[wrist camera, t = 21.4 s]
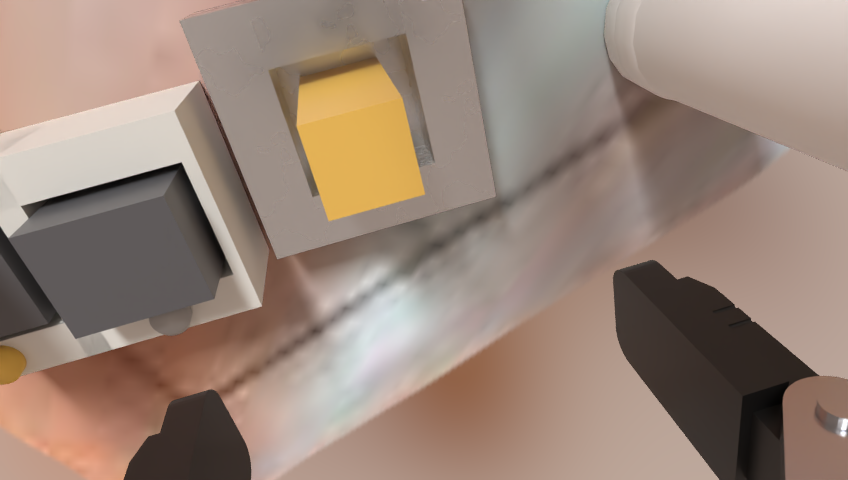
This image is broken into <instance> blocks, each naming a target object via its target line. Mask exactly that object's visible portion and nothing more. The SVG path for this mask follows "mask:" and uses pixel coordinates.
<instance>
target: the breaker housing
mask: <svg viewBox="0 0 848 480" xmlns="http://www.w3.org/2000/svg"><path fill="white" fill-rule="evenodd" d="M181 162H182V164H183V166H184V168H185V170H186V173H187V175H188V177H189V179H190V181H191V183H192V185H193V188H194V190H195V192H196V194H197V196H198V198H199V201H200V203H201V205H202V207H203V209H204V211H205V214H206V216H207V218H208V220H209V222H210V224H211V227H212V229H213V231H214V233H215V235H216V237H217V240H218V242H219V244H220V246H221V248H222V250H223V252H224V255H225V257H226V258H225V261H224V265H223V269H222V273H221V276H220V280H219V284H218V288H217V291H216V295H215V299H213V300H209V301H206V302H202V303H199V304H196V305H192V306H189V307H185V308H182V309H178V310H175V311H171V312H168V313H164V314H161V315H157V316H154V317H150V318H147V319H143V320H140V321H136V322H133V323H129V324H126V325H123V326H119V327H116V328H112V329H109V330H105V331H102V332H98V333H95V334H91V335H88V336H84V337H81V338H77V339H75V338H74V336H73V335H72V333H71V332H70V330H69V329H68V327H67V326H66V324H65V323H64V321H63V320H62V318H61V317H60V315H59V314H58V312H56V313H55V315H54V316H53V318H52V319H51V321H50V322H49V323H48V324H46V325H42V326H39V327H35V328H32V329H28V330H25V331H21V332H18V333H14V334H11V335H7V336H4V337H0V384H1V385H2V384H9V383H12V382H14V381H16V380H17V379H18V378H19V377H20V376H23V375H27V374H30V373H34V372H37V371H41V370H44V369H48V368H51V367H54V366H58V365H61V364H65V363H68V362H72V361H75V360H79V359H82V358H86V357H89V356H92V355H96V354H99V353H103V352H106V351H110V350H113V349H117V348H120V347H124V346H127V345H130V344H134V343H137V342H141V341H144V340H148V339H151V338H155V337H158V336H161V335H169V336H173V335H178V334H181V333H183V332H184V331H186V330H187V328H189V327H193V326H196V325H199V324H203V323H206V322H210V321H213V320H217V319H220V318H224V317H227V316H230V315H234V314H237V313H241V312H244V311H248V310H251V309H255V308H258V307H262V302H263V294H264V287H265V279H266V271H267V263H268V255H269V248H268V245H267V243H266V240H265V238H264V236H263V233H262V231H261V228H260V226H259V224H258V221H257V219H256V216H255V214H254V211H253V209H252V207H251V204H250V202H249V199H248V197H247V195H246V192H245V190H244V187H243V185H242V183H241V180H240V178H239V175H238V173H237V170H236V168H235V166H234V163H233V161H232V158H231V156H230V154H229V151H228V149H227V146H226V144H225V142H224V139H223V137H222V134H221V132H220V129H219V127H218V125H217V122H216V120H215V117H214V115H213V113H212V110H211V108H210V105H209V103H208V101H207V98H206V96H205V93H204V91H203V88H202V86H201V84H200V81H196V82H192V83H188V84H185V85H181V86H177V87H173V88H170V89H166V90H162V91H158V92H154V93H151V94H147V95H143V96H139V97H136V98H132V99H128V100H124V101H121V102H117V103H113V104H109V105H105V106H102V107H98V108H94V109H90V110H87V111H83V112H79V113H75V114H71V115H68V116H64V117H60V118H56V119H53V120H49V121H45V122H41V123H38V124H34V125H30V126H26V127H22V128H19V129H15V130H11V131H7V132H4V133H0V227H1V228H2V230H3V231H4V233H5V234H6V236H7V237H8V238H9V237H10V236H11V235H12V234H13V233H14V232H15V231H16V230H17V229H18V228H19V227H20V226H21V225H23V224H24V223H25V222H26V221H27V220H28V219H29V218H30V217H31V216H32V215H33V214H34V213H35V212H36V211H37V210H38V209H39V208H40V207H41V206H42V205H43V204H44V203H45V202H46V201H47V200H48V199H50V198H52V197H56V196H60V195H63V194H67V193H71V192H74V191H78V190H82V189H85V188H89V187H93V186H96V185H100V184H104V183H107V182H111V181H115V180H118V179H122V178H126V177H129V176H133V175H137V174H140V173H144V172H148V171H151V170H155V169H159V168H162V167H166V166H170V165H173V164H177V163H181Z"/></svg>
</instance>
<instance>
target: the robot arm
mask: <svg viewBox="0 0 848 480" xmlns="http://www.w3.org/2000/svg"><path fill="white" fill-rule="evenodd" d="M613 285H614V300H615V301H614V302H615V318H616V332H617V337H618V341H619V344H620V346H621V349H622V351H623V353H624V355H625V357H626V359H627V360H628V362H629V363H630V364H631V365H632V367H633V368H634V369H635V371H636V372H637V373H638V375H639V376H640V377H641V379H642V380H643V381H644V382H645V384H646V385H647V386H648V388H649V389H650V390H651V391H652V393H653V394H654V395H655V397H656V398H657V399H658V400H659V402H660V403H661V404H662V406H663V407H664V408H665V410H666V411H667V412H668V414H669V415H670V416H671V417H672V418H673V420H674V421H675V423H676V424H677V425H678V426H679V428H680V429H681V430H682V432H683V433H684V434H685V436H686V437H687V438H688V439H689V441H690V442H691V443H692V445H693V446H694V447H695V448H696V450H697V451H698V452H699V454H700V455H701V456H702V458H703V459H704V460H705V461H706V463H707V464H708V465H709V467H710V468H711V469H712V471H713V472H714V473H715V474H716V476H717V477H718V478H719V480H848V379H844V378H839V377H831V376H819V375H818V374H816V373H815V372H814V371H813V370H812V369H810V368H809V367H808V366H807V365H806V364H805V363H803V362H802V361H801V360H800V359H799V358H797V357H796V356H795V355H794V354H792V353H791V352H790V351H789V350H788V349H787V348H786V347H784V346H783V345H782V344H781V343H780V342H778V341H777V340H776V339H775V338H773V337H772V336H771V335H770V334H769V333H768V332H766V331H765V330H764V329H763V328H762V327H761V326H759V325H758V324H757V323H756V322H752V321H751V318H750V317H748V315H746V314H745V313H744V312H743V311H742V310H740V309H739V308H735V306H734V304H733V303H732V302H731V301H730V300H728V299H727V298H726V297H725V296H724V295H723V294H721V293H720V292H719V291H718V290H717V289H715V288H714V287H711V286H709V285H707V284H704V283H702V282H699V281H697V280H695V279H692V278H690V277H685V278H681V279H678V280H677V279H676V278H675V277H674V276H673V275H672V274H670V273H669V272H668V271H667V270H666V269H665V268H664V267H663V266H662V265H660V264H659V263H658V262H657V261H654V260H650V261H647V262H643V263H640V264H637V265H633V266H630V267H626V268H623V269H620V270H617V271H615V273H614V277H613ZM124 480H251V462H250V456H249V452H248V449H247V446H246V443H245V441H244V439H243V438H242V436H241V434H240V432H239V430H238V429H237V427H236V425H235V423H234V421H233V419H232V418H231V416H230V414H229V412H228V410H227V409H226V407H225V405H224V403H223V401H222V400H221V398H220V396H219V395H218V393H217V392H216V391H215V390H212V389H211V390H207V391H204V392H200V393H197V394H194V395H190V396H187V397H184V398H180V399H177V400H174V401H172V402H171V403H170V404H169V406H168V408H167V412H166V415H165V418H164V422H163V425H162V429H161V432H160V433H159V434H155V435H152V436H149V437H148V438H147V439H146V440H145V442H144V443H143V445H142V446H141V447H140V449H139V450H138V452H137V453H136V454H135V456H134V457H133V458H132V460H131V461H130V463H129V465H128V468H127V471H126V474H125V477H124Z"/></svg>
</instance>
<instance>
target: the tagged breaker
mask: <svg viewBox="0 0 848 480" xmlns="http://www.w3.org/2000/svg"><path fill="white" fill-rule="evenodd" d="M56 312H57V311H56V309H55V308H54V306H53V305H52V303H51V302H50V300H49V299H48V297H47V296H46V294H45V293H44V292H43V290H42V289H41V287H40V286H39V284H38V283H37V281H36V280H35V278H34V277H33V275H32V274H31V272H30V271H29V269H28V268H27V266H26V265H25V263H24V262H23V260H22V259H21V257H20V256H19V254H18V253H17V251H16V250H15V248H14V247H13V245H12V244H11V242H10V241H9V240H8V237H7V236H6V234H5V233H4V231H3V230H2V228H1V227H0V337H4V336H7V335H11V334H14V333H18V332H21V331H25V330H28V329H32V328H35V327H39V326H42V325H46V324H48V323H49V322H50V321H51V319H52V318H53V316H54V315H55V313H56Z"/></svg>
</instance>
